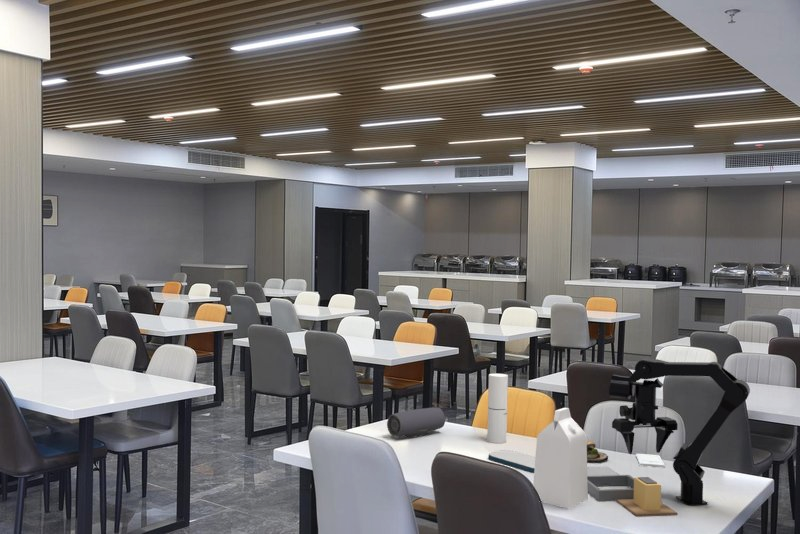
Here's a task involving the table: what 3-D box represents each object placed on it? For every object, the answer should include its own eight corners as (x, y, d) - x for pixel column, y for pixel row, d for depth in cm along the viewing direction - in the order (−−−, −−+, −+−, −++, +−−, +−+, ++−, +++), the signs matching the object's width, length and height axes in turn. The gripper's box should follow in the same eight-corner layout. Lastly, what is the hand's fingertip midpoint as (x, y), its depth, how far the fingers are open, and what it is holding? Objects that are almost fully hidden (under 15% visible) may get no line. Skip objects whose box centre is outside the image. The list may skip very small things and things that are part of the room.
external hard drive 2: (659, 459, 259) (665, 469, 247) (635, 457, 261) (639, 467, 249) (659, 455, 259) (665, 464, 247) (635, 453, 261) (639, 462, 249)
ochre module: (660, 510, 203) (661, 483, 203) (645, 510, 203) (645, 483, 203) (648, 501, 210) (649, 475, 210) (633, 502, 210) (634, 476, 210)
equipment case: (650, 499, 214) (650, 489, 214) (598, 501, 212) (598, 490, 212) (608, 470, 242) (608, 461, 242) (561, 471, 240) (562, 462, 240)
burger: (572, 462, 252) (572, 440, 252) (572, 453, 264) (573, 432, 264) (608, 465, 250) (609, 443, 249) (607, 456, 261) (608, 435, 261)
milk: (551, 489, 221) (553, 403, 221) (587, 498, 214) (589, 409, 214) (532, 499, 212) (534, 409, 212) (568, 508, 205) (571, 415, 204)
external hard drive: (561, 470, 244) (561, 464, 244) (539, 476, 236) (539, 470, 236) (506, 454, 261) (506, 448, 261) (484, 459, 254) (484, 454, 254)
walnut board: (677, 514, 202) (677, 512, 202) (636, 516, 200) (636, 514, 200) (655, 500, 213) (655, 498, 213) (616, 501, 212) (616, 499, 212)
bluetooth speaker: (429, 429, 296) (430, 404, 295) (445, 433, 288) (446, 408, 288) (385, 437, 281) (386, 410, 281) (401, 442, 274) (401, 415, 274)
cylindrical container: (483, 439, 280) (485, 374, 280) (499, 438, 283) (501, 373, 283) (493, 444, 274) (495, 377, 273) (510, 442, 277) (511, 376, 276)
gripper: (658, 395, 229) (656, 445, 229) (603, 396, 225) (602, 447, 225) (679, 402, 218) (678, 454, 219) (622, 403, 214) (621, 457, 214)
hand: (644, 453), depth 219 cm, fingers open, 9 cm apart
